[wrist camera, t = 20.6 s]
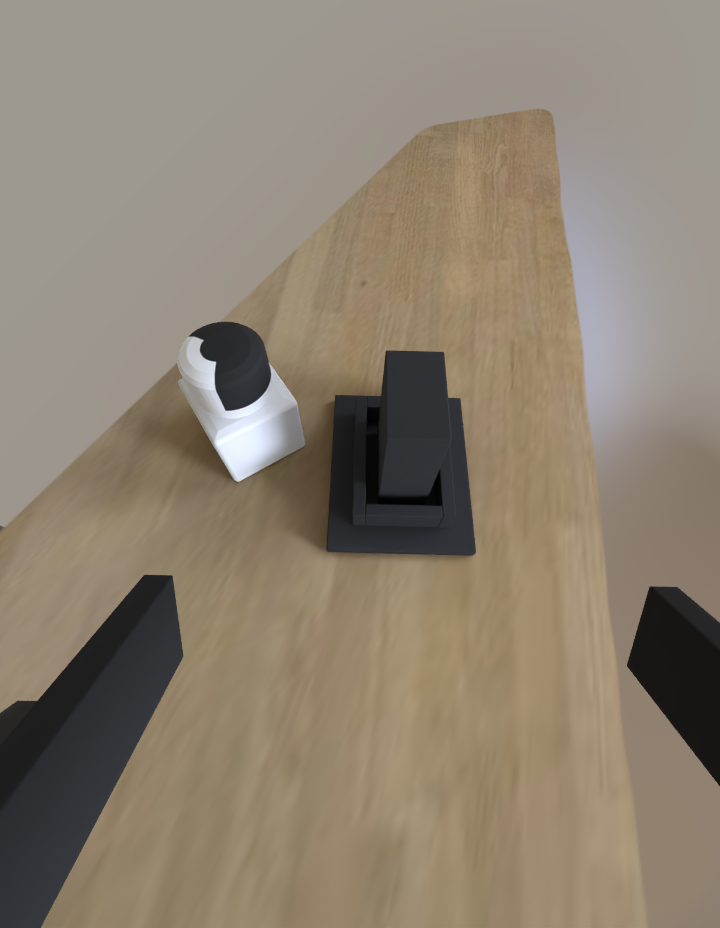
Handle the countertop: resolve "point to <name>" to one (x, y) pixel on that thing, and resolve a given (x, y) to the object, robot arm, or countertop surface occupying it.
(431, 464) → the upright block
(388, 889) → the countertop surface
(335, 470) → the base pad
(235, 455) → the medicine bottle
